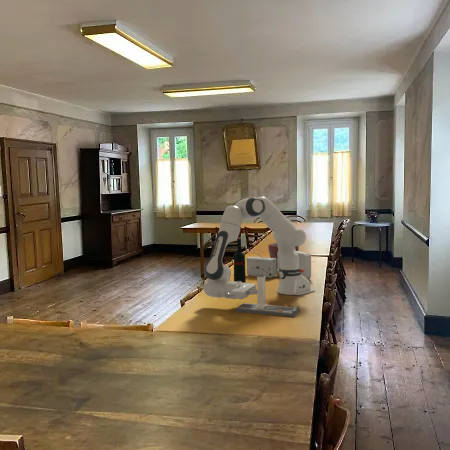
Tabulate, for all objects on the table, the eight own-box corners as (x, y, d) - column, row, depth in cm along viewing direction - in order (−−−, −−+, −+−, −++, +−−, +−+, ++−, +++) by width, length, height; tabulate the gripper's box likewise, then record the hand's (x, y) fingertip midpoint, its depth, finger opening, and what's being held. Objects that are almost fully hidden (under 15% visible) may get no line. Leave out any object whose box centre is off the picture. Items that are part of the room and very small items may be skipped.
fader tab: (255, 308, 228) (255, 274, 226) (260, 305, 234) (259, 272, 233) (263, 309, 226) (263, 275, 225) (267, 305, 233) (267, 272, 231)
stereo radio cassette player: (277, 276, 317) (276, 248, 315) (271, 278, 310) (271, 249, 308) (251, 274, 328) (250, 246, 326) (245, 276, 321) (244, 248, 319)
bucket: (300, 271, 334) (300, 237, 332) (270, 272, 334) (269, 238, 332) (295, 265, 358) (295, 234, 356) (267, 266, 359) (267, 234, 357)
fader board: (235, 311, 229) (235, 306, 229) (243, 305, 240) (243, 300, 240) (294, 316, 218) (293, 311, 218) (299, 310, 229) (299, 305, 229)
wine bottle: (248, 281, 303) (247, 236, 300) (243, 284, 293) (243, 238, 291) (237, 280, 305) (236, 236, 303) (232, 283, 296) (231, 238, 293)
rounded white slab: (313, 279, 305) (313, 252, 303) (305, 281, 301) (305, 254, 299) (285, 273, 329) (285, 248, 327) (277, 274, 324) (277, 249, 323)
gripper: (225, 288, 226) (252, 290, 220) (239, 280, 244) (264, 281, 239) (225, 301, 226) (252, 303, 221) (240, 291, 245) (264, 293, 240)
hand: (258, 292), depth 230 cm, fingers closed, pressing on fader tab
